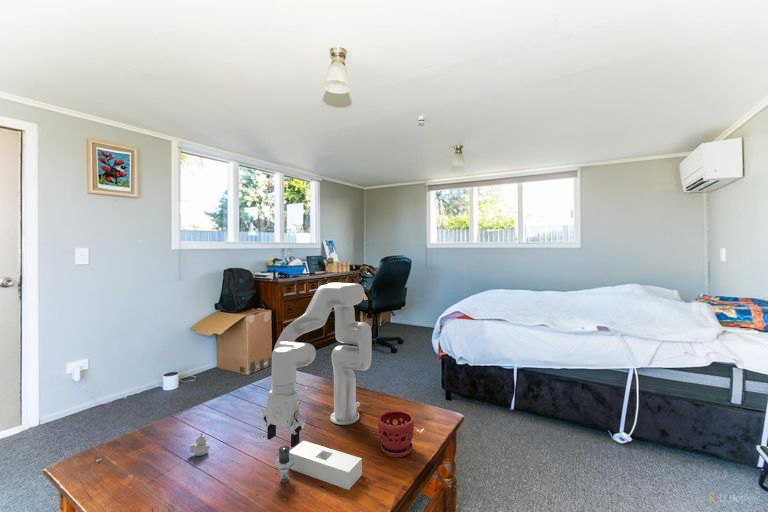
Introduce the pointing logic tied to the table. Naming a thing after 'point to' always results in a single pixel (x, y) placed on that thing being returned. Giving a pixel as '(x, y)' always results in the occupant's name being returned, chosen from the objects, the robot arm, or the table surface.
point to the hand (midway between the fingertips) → (283, 441)
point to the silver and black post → (284, 463)
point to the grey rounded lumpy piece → (200, 446)
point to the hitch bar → (326, 464)
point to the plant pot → (396, 433)
